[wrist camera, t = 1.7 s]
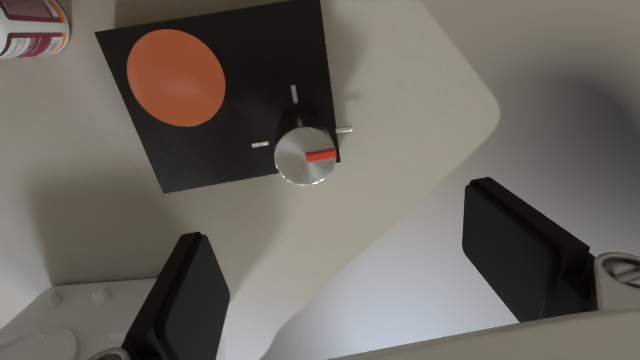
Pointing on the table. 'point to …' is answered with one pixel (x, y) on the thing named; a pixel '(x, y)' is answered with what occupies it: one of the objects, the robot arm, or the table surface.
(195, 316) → the robot arm
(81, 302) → the radio
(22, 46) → the pill bottle
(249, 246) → the table surface
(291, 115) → the hob knob
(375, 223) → the table surface
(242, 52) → the hob
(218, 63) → the burner ring
